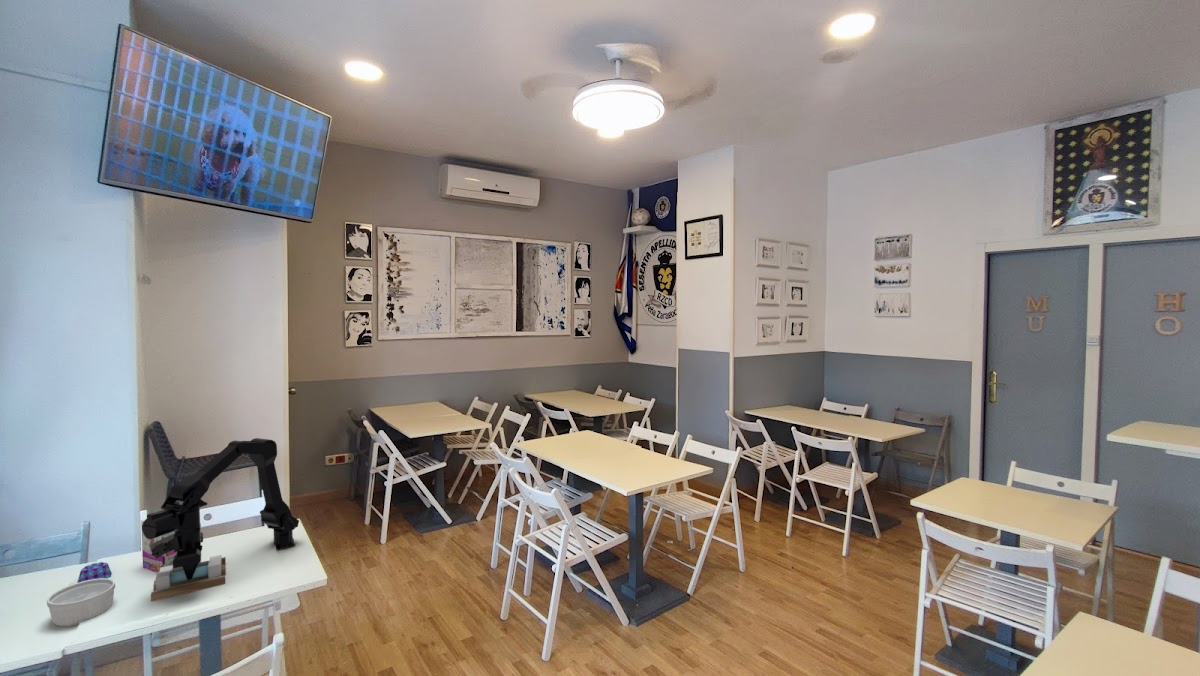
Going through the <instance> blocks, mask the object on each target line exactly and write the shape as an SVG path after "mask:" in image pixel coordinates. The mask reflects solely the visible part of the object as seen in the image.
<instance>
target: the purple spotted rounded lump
mask: <svg viewBox="0 0 1200 676" xmlns="http://www.w3.org/2000/svg"><path fill="white" fill-rule="evenodd" d="M112 575H113V573H112V571H111V568H110V566H109V563H108V562H102V561H99V562H94V563H91V564H88V565H85V566H84V567H83V568H82V569H80V572H79V575H78V577H77V579H75V580H73V581H72V582H70V583H69V584H68V585H67V586H70V585H73V584H76V583H79V582H83V581H87V580H92V579H100V578H107V579H111V577H112Z"/></svg>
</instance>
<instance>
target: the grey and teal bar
mask: <svg viewBox="0 0 1200 676" xmlns="http://www.w3.org/2000/svg"><path fill="white" fill-rule="evenodd" d="M207 575H208V576H209V578H210V579H211V578H213V577H218V576H221V559H219V560H215V561H210V562H209V563H208V565H207V566H202V567H198V568H196V570H195V573H194V575H193V577H192V579H193V578H198V577H202V576H207ZM155 580H156V590H157V591H158V590H160V589H165V588H166V589H167V588H169V587H170V584H171V583H176V582H180V581H184V580H187V578H186V575H185V572H184V571H179V572H175V573H170V570H168V571H163V572H158V573H157V572H156V575H155ZM170 588H171V587H170Z"/></svg>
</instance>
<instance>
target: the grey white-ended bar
mask: <svg viewBox="0 0 1200 676" xmlns="http://www.w3.org/2000/svg"><path fill="white" fill-rule="evenodd" d="M222 558H223V556H222V555H221V554H219V555H215V556H209V560H205V562H204V561H201V563H198V566H197V568H198V567H202V566H207V565H208V563H209V562H210V561H215V560H219V559H221V566H222ZM168 570H170V573H175V572H179V571H184V569H183V567H178V568H173V565H171V566H166V567H161V568H160V571H159V572H163V571H168Z"/></svg>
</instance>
